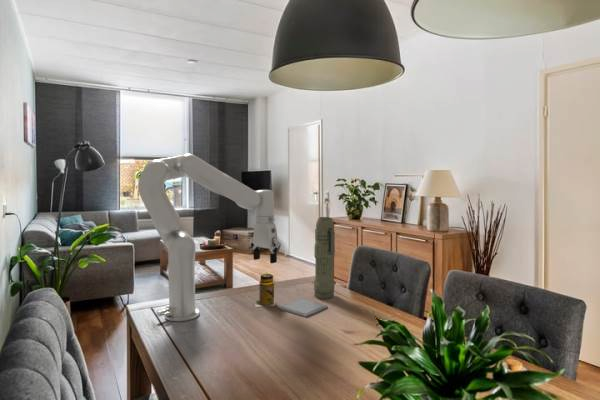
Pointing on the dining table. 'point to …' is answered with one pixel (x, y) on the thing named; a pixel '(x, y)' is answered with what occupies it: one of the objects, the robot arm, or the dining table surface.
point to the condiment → (266, 291)
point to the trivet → (303, 307)
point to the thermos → (324, 258)
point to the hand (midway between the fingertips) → (265, 261)
